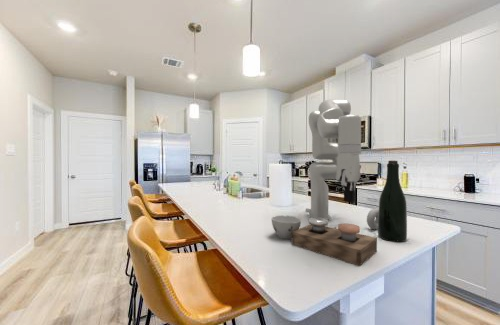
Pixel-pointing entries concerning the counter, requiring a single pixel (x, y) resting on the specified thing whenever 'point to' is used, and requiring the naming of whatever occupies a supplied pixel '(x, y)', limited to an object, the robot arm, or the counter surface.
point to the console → (336, 244)
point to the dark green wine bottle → (392, 207)
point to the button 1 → (318, 225)
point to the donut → (373, 218)
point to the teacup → (285, 225)
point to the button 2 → (348, 231)
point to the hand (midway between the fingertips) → (349, 201)
